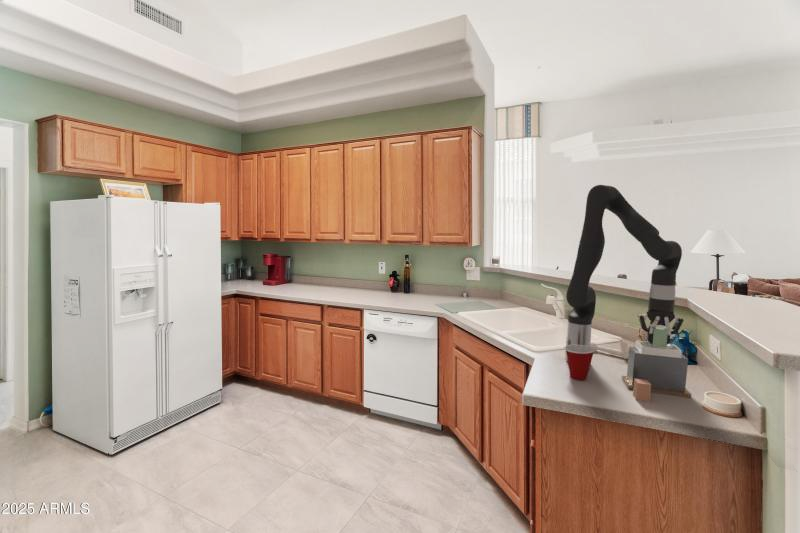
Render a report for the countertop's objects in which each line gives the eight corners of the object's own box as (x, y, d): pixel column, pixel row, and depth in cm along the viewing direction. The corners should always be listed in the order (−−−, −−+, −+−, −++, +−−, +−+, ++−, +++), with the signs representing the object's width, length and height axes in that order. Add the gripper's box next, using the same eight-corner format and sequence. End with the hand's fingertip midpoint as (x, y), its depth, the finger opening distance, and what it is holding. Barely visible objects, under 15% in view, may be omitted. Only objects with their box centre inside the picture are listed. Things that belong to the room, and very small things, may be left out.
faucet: (592, 359, 179) (586, 338, 180) (632, 356, 166) (626, 334, 167) (589, 360, 176) (583, 340, 177) (630, 358, 163) (623, 336, 165)
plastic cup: (565, 369, 152) (567, 341, 150) (595, 376, 145) (597, 346, 144) (559, 378, 143) (561, 348, 142) (590, 385, 137) (592, 354, 135)
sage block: (653, 346, 133) (654, 329, 132) (649, 342, 137) (651, 326, 136) (666, 347, 131) (667, 330, 131) (662, 344, 135) (663, 327, 135)
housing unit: (627, 388, 134) (631, 346, 132) (621, 378, 143) (624, 338, 142) (691, 397, 128) (695, 352, 126) (680, 386, 137) (684, 344, 136)
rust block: (635, 400, 125) (637, 383, 125) (632, 395, 129) (634, 378, 129) (649, 402, 124) (651, 384, 124) (646, 397, 128) (647, 380, 127)
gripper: (641, 297, 131) (638, 344, 133) (690, 300, 126) (685, 349, 128) (636, 294, 138) (632, 339, 140) (681, 296, 133) (677, 343, 135)
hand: (658, 343), depth 134 cm, fingers closed on sage block, 4 cm apart
